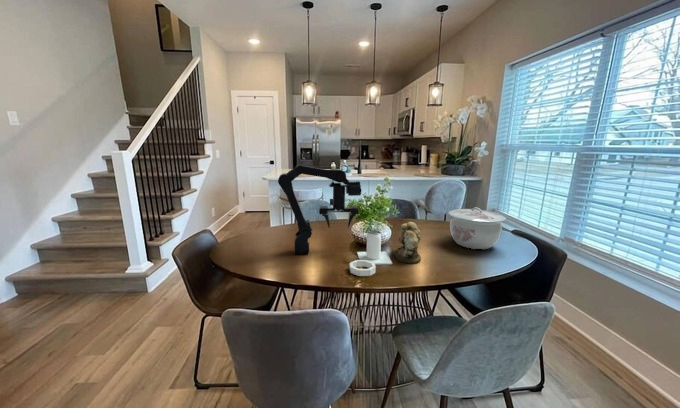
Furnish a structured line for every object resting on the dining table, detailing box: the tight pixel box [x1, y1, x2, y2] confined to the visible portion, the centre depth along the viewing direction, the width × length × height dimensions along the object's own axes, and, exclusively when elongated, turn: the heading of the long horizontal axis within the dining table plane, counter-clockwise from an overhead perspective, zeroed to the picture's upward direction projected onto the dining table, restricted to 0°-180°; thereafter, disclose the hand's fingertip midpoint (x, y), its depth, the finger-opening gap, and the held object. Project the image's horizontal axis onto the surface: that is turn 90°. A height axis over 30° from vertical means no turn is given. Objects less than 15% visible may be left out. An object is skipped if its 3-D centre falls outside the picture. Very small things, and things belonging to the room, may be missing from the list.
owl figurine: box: [393, 221, 422, 265], centre depth 134 cm, size 18×12×17 cm, turn 6°
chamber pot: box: [447, 206, 507, 250], centre depth 151 cm, size 28×28×21 cm
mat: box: [356, 251, 393, 266], centre depth 133 cm, size 14×14×1 cm
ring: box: [349, 259, 377, 277], centre depth 120 cm, size 10×10×2 cm
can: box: [366, 230, 382, 260], centre depth 132 cm, size 6×6×12 cm
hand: (338, 227), depth 140 cm, fingers open, 9 cm apart
